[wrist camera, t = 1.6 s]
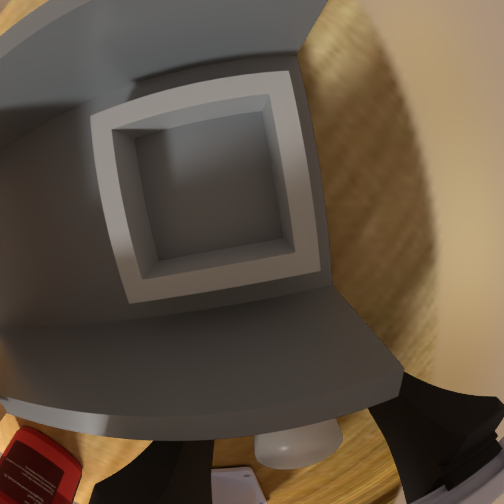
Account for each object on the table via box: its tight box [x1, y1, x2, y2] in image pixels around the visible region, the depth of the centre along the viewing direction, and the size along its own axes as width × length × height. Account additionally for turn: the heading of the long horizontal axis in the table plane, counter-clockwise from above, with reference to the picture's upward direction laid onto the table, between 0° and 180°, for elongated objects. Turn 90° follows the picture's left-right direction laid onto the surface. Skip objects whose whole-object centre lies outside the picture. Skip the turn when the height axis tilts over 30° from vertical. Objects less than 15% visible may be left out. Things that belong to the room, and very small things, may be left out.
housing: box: [0, 0, 404, 441], centre depth 7 cm, size 11×19×6 cm, turn 100°
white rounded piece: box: [253, 418, 343, 470], centre depth 10 cm, size 3×3×5 cm
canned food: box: [0, 426, 82, 504], centre depth 9 cm, size 8×8×11 cm
